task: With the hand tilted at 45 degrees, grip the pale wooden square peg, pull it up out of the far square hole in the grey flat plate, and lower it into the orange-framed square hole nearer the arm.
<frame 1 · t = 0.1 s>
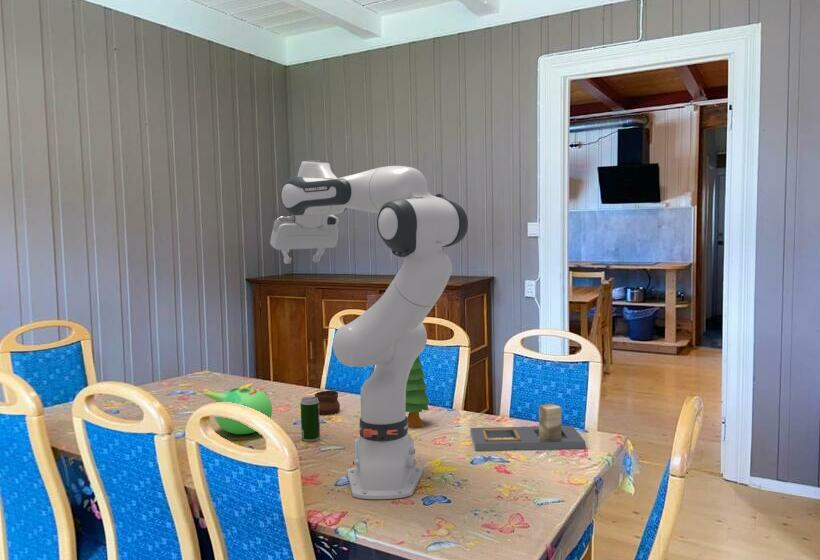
hand: (301, 262, 181), 52 cm above the table, tool tilted 20°, fingers open, 8 cm apart
wooden peg: (550, 440, 178), resting in grey flat plate
grey flat plate: (525, 441, 178), on the table
decorative tree: (416, 425, 196), on the table
beer can: (311, 439, 185), on the table
ceramic pot: (327, 413, 213), on the table
green teapot: (242, 433, 192), on the table
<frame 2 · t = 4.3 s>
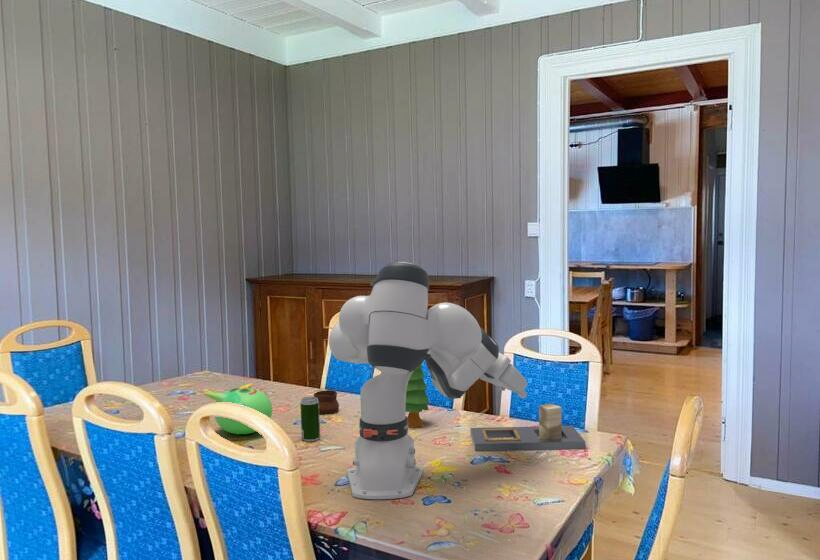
hand: (514, 392, 171), 16 cm above the table, tool tilted 45°, fingers open, 8 cm apart
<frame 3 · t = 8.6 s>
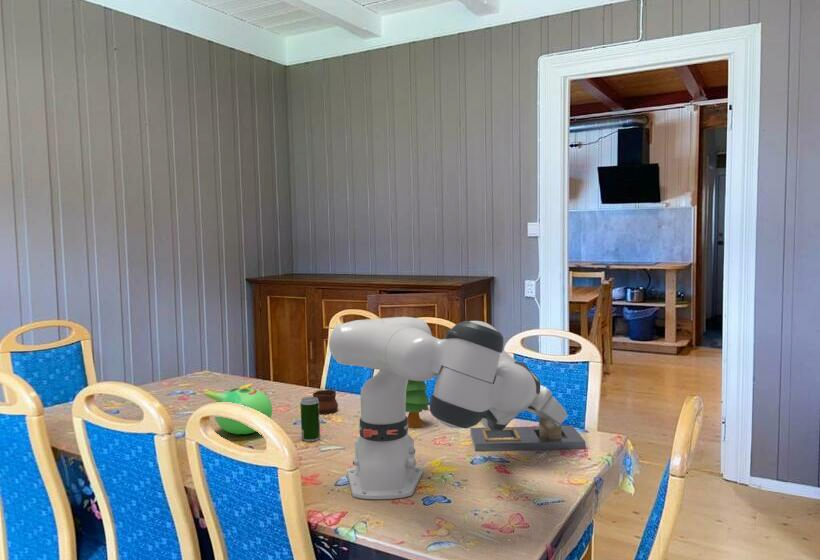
hand: (552, 421, 178), 6 cm above the table, tool tilted 45°, fingers closed on wooden peg, 4 cm apart
wooden peg: (550, 440, 178), resting in grey flat plate, touching gripper
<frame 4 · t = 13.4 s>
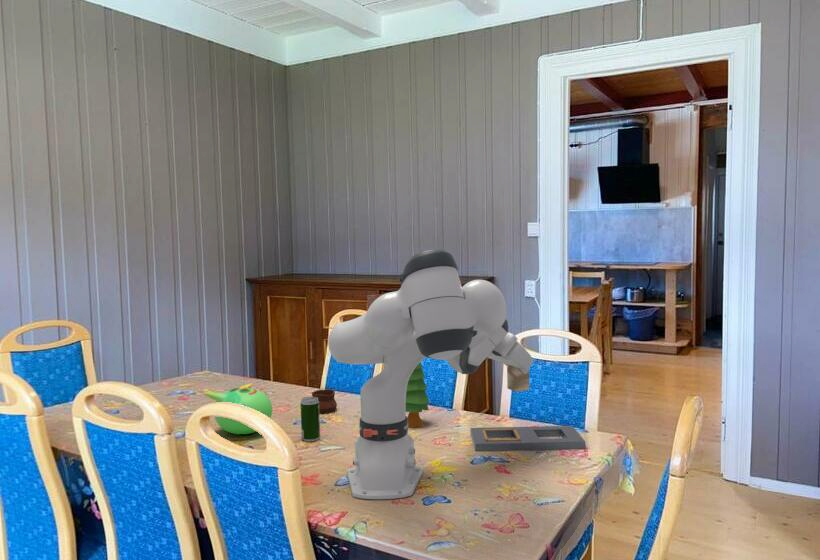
hand: (519, 369, 178), 20 cm above the table, tool tilted 45°, fingers closed on wooden peg, 4 cm apart
wooden peg: (518, 389, 178), point 15 cm above the table, touching gripper
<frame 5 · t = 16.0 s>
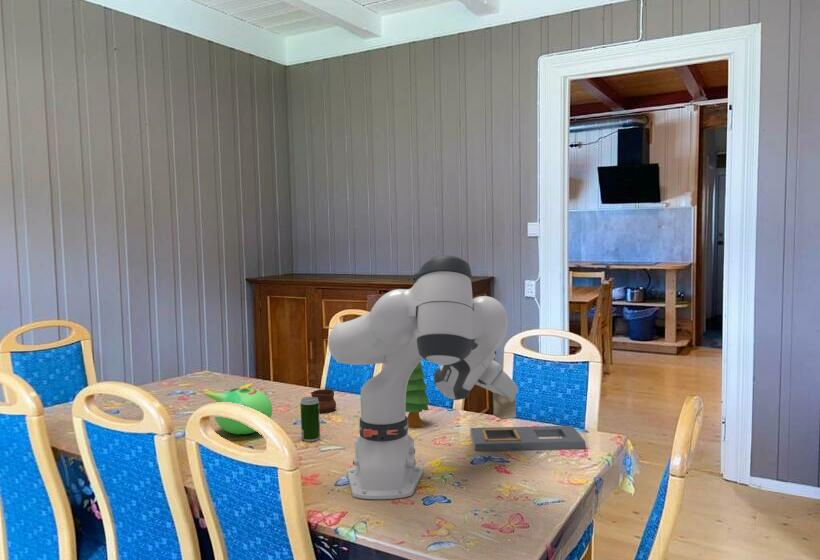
hand: (506, 396, 177), 13 cm above the table, tool tilted 45°, fingers closed on wooden peg, 4 cm apart
wooden peg: (504, 416, 178), point 7 cm above the table, touching gripper
when the fingers open (7 cm above the table, at t = 18.2 s): wooden peg stays where it is, resting in grey flat plate.
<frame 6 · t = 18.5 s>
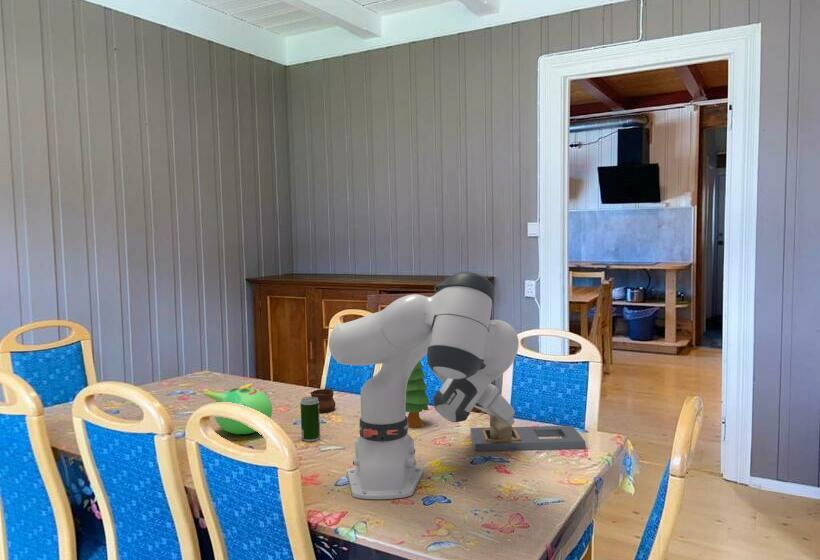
hand: (502, 418, 178), 7 cm above the table, tool tilted 45°, fingers open, 8 cm apart
wooden peg: (501, 441, 178), resting in grey flat plate
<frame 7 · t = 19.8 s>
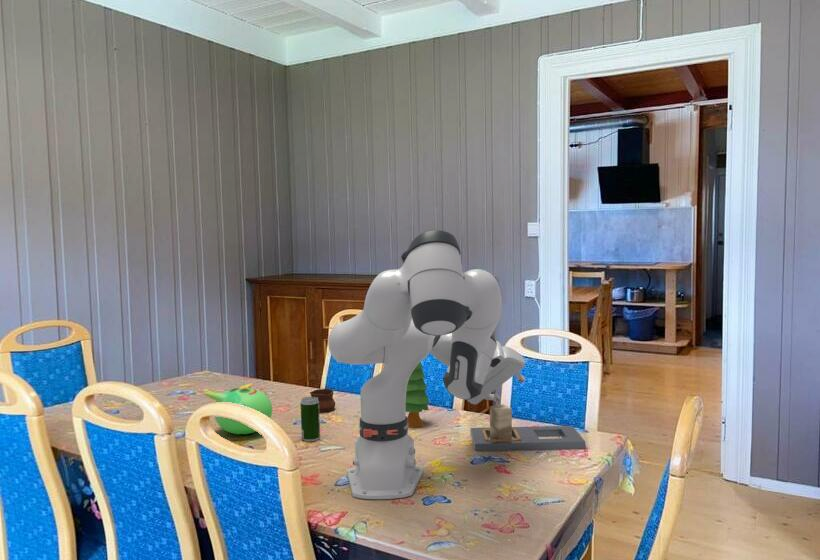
hand: (510, 389, 177), 15 cm above the table, tool tilted 55°, fingers open, 8 cm apart
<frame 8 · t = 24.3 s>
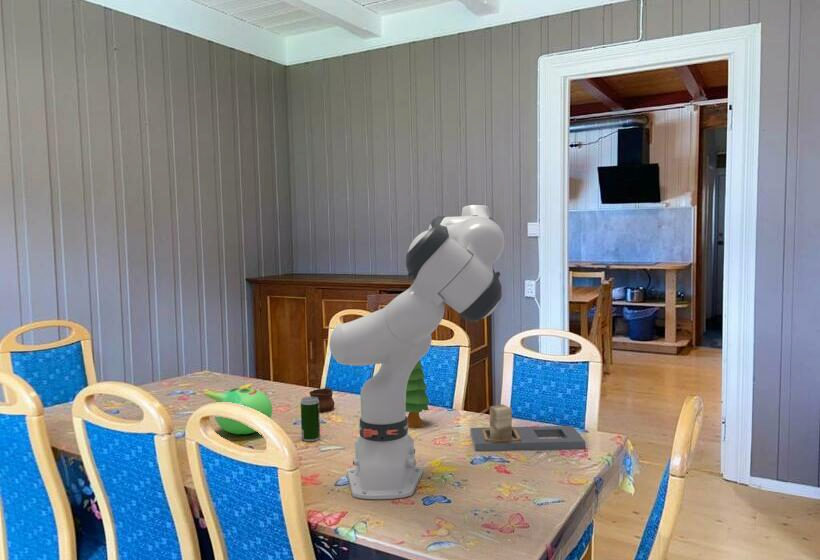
hand: (477, 311, 178), 37 cm above the table, tool pointing down, fingers open, 8 cm apart
at the end: wooden peg 0.1 cm from the target spot on the grey flat plate, point 0.0 cm above the grey flat plate's base; wooden peg tilted 0°; the gripper is holding nothing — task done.
